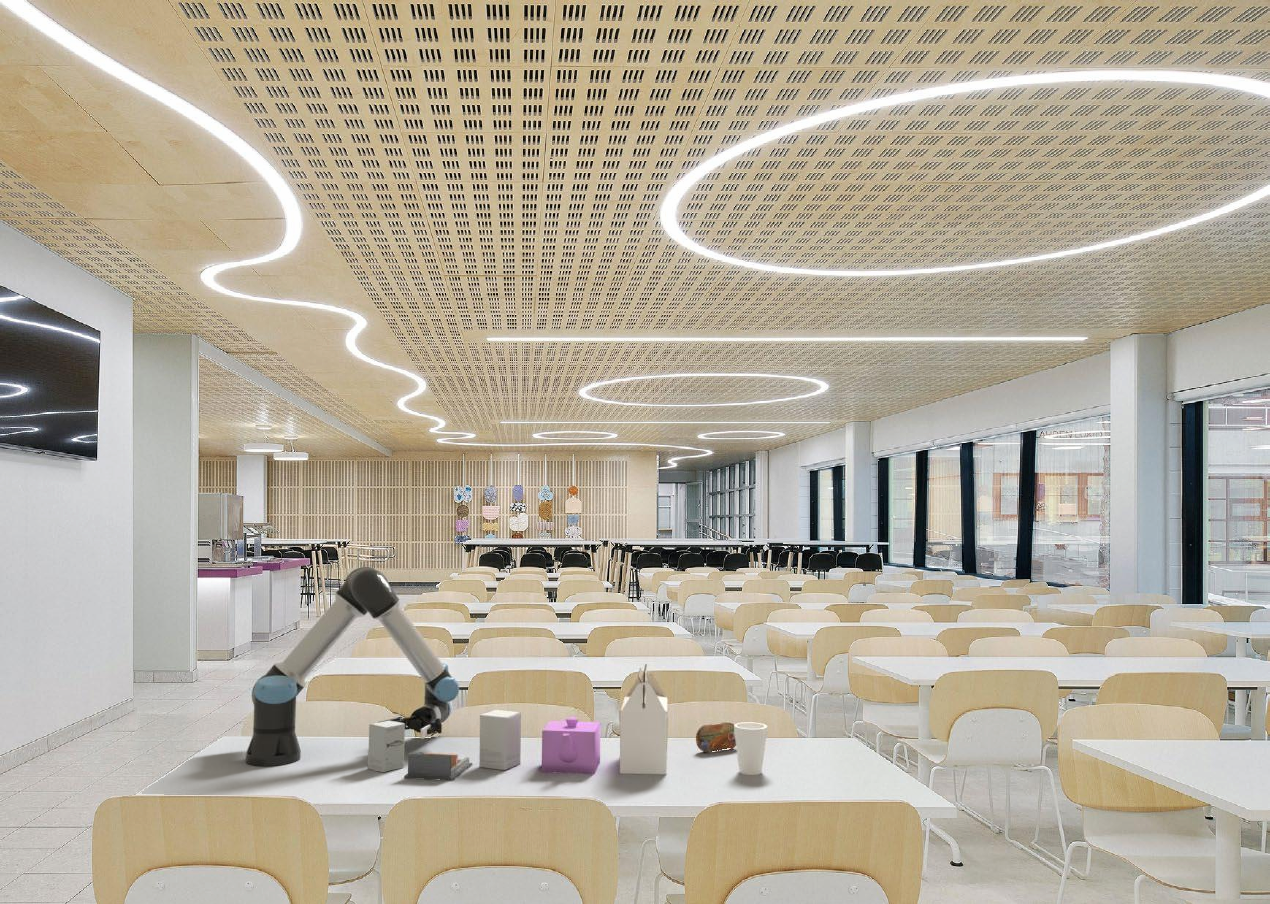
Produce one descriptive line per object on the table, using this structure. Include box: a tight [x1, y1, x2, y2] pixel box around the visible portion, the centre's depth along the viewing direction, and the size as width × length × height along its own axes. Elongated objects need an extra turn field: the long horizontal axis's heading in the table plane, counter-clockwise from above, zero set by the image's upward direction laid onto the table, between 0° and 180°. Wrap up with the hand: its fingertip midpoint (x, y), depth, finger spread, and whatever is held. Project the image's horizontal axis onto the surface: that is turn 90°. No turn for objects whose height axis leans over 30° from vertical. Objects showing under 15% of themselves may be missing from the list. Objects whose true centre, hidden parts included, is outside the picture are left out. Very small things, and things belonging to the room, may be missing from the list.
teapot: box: [541, 716, 601, 775], centre depth 281 cm, size 15×25×14 cm, turn 175°
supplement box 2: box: [478, 709, 522, 771], centre depth 283 cm, size 9×9×15 cm
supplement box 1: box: [367, 720, 406, 773], centre depth 279 cm, size 7×7×13 cm
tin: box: [695, 722, 736, 754], centre depth 304 cm, size 15×3×8 cm, turn 120°
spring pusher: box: [424, 752, 459, 768], centre depth 277 cm, size 9×1×4 cm, turn 82°
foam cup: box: [734, 721, 768, 776], centre depth 279 cm, size 10×9×13 cm
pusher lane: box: [403, 752, 473, 781], centre depth 276 cm, size 14×17×7 cm
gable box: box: [619, 663, 669, 776], centre depth 287 cm, size 22×13×28 cm, turn 178°
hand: (399, 733), depth 288 cm, fingers open, 13 cm apart
